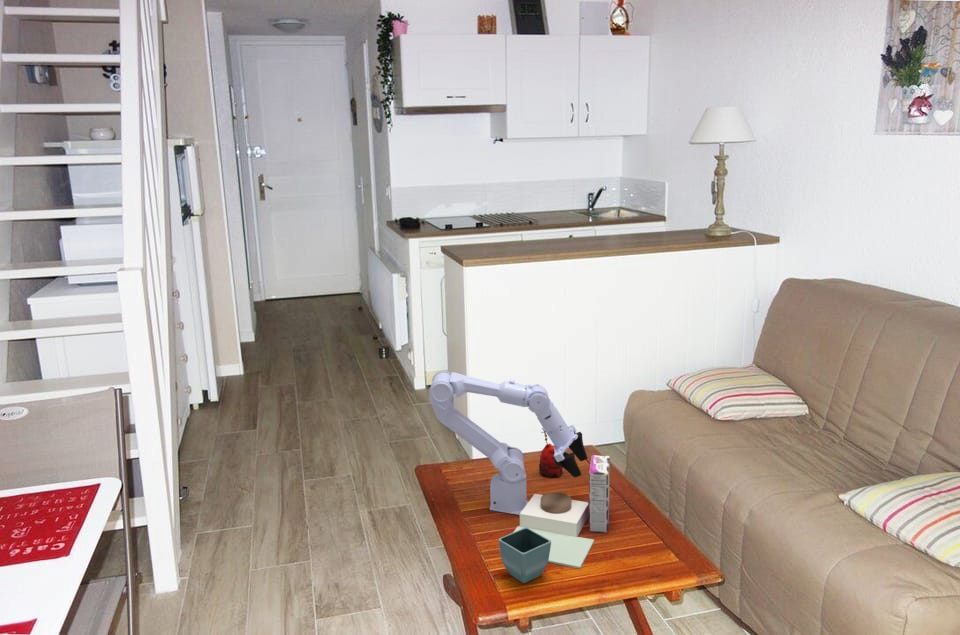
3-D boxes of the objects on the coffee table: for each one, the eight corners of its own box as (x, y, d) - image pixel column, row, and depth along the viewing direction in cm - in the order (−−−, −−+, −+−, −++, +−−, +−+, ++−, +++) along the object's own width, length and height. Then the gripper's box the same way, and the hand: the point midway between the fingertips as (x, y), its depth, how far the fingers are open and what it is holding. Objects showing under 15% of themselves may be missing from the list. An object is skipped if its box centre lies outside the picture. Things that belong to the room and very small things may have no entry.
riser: (519, 527, 191) (519, 513, 190) (534, 507, 202) (534, 493, 201) (576, 538, 185) (576, 523, 184) (588, 516, 196) (589, 502, 195)
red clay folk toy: (566, 477, 219) (566, 429, 216) (543, 480, 218) (543, 432, 214) (557, 467, 227) (557, 420, 223) (535, 469, 225) (535, 423, 222)
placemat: (499, 552, 179) (499, 550, 179) (518, 527, 191) (518, 525, 191) (580, 568, 172) (580, 566, 172) (594, 541, 183) (594, 539, 183)
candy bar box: (590, 511, 199) (591, 454, 195) (609, 512, 198) (610, 455, 194) (588, 532, 188) (588, 472, 184) (608, 533, 187) (608, 473, 183)
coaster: (536, 510, 191) (536, 503, 191) (546, 497, 198) (546, 490, 198) (566, 515, 188) (566, 508, 188) (575, 502, 195) (575, 495, 195)
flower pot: (526, 560, 176) (526, 526, 174) (552, 576, 169) (552, 540, 167) (498, 574, 170) (497, 538, 168) (523, 591, 164) (523, 554, 162)
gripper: (561, 436, 188) (587, 479, 191) (574, 408, 201) (599, 448, 203) (538, 445, 192) (564, 486, 194) (552, 416, 204) (577, 456, 206)
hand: (581, 467), depth 199 cm, fingers open, 7 cm apart
